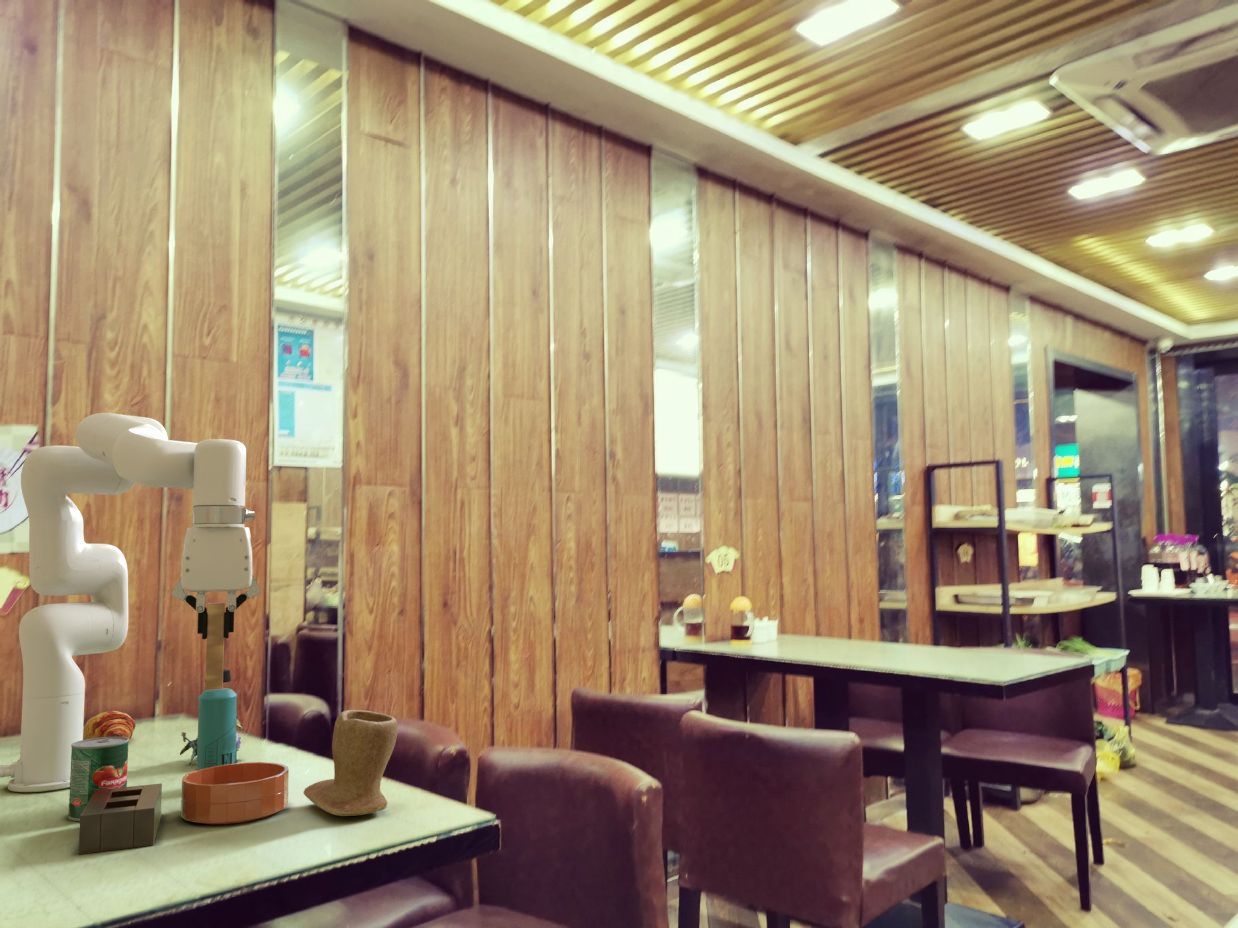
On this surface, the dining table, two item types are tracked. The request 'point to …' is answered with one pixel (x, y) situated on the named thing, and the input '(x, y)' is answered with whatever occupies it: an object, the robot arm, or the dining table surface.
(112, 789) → the utensil stand
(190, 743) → the passion flower
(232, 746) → the beverage bottle
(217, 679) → the light brown wooden bar
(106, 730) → the croissant
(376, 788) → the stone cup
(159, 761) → the dining table surface
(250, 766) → the bowl
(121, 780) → the canned tomato
